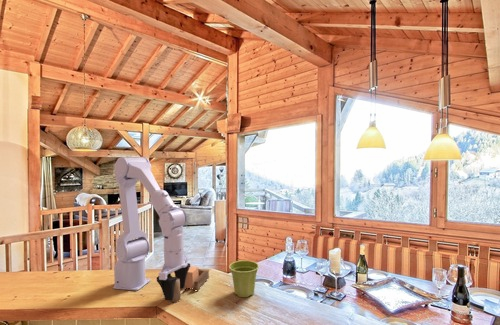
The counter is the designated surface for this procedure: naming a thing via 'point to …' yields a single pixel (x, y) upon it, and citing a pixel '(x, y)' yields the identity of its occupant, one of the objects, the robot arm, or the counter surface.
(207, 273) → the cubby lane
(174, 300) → the tethered block
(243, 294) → the plant pot
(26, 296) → the counter surface
